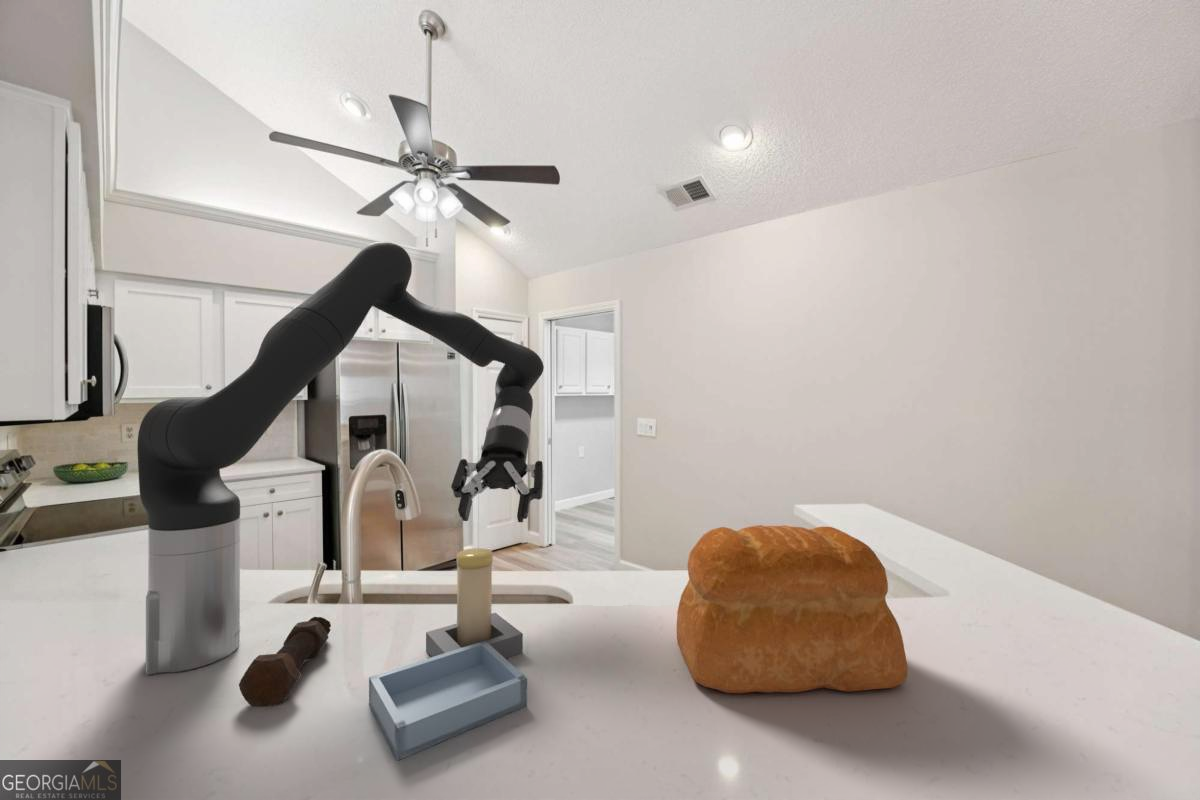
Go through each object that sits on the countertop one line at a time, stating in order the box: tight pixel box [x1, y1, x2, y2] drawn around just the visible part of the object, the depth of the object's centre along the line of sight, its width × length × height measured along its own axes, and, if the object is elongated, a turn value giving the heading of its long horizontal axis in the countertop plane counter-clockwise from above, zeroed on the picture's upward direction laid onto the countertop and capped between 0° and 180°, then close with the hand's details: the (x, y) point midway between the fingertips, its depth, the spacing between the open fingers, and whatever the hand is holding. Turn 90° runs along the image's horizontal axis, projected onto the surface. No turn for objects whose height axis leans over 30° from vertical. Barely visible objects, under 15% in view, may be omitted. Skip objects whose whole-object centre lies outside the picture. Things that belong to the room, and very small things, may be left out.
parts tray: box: [368, 641, 528, 761], centre depth 54 cm, size 14×11×3 cm
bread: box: [676, 524, 909, 694], centre depth 64 cm, size 16×26×17 cm, turn 93°
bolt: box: [238, 616, 332, 708], centre depth 61 cm, size 6×5×15 cm
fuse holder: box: [425, 612, 524, 659], centre depth 66 cm, size 10×8×2 cm
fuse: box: [456, 547, 494, 648], centre depth 66 cm, size 5×5×13 cm
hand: (491, 519), depth 76 cm, fingers open, 8 cm apart
